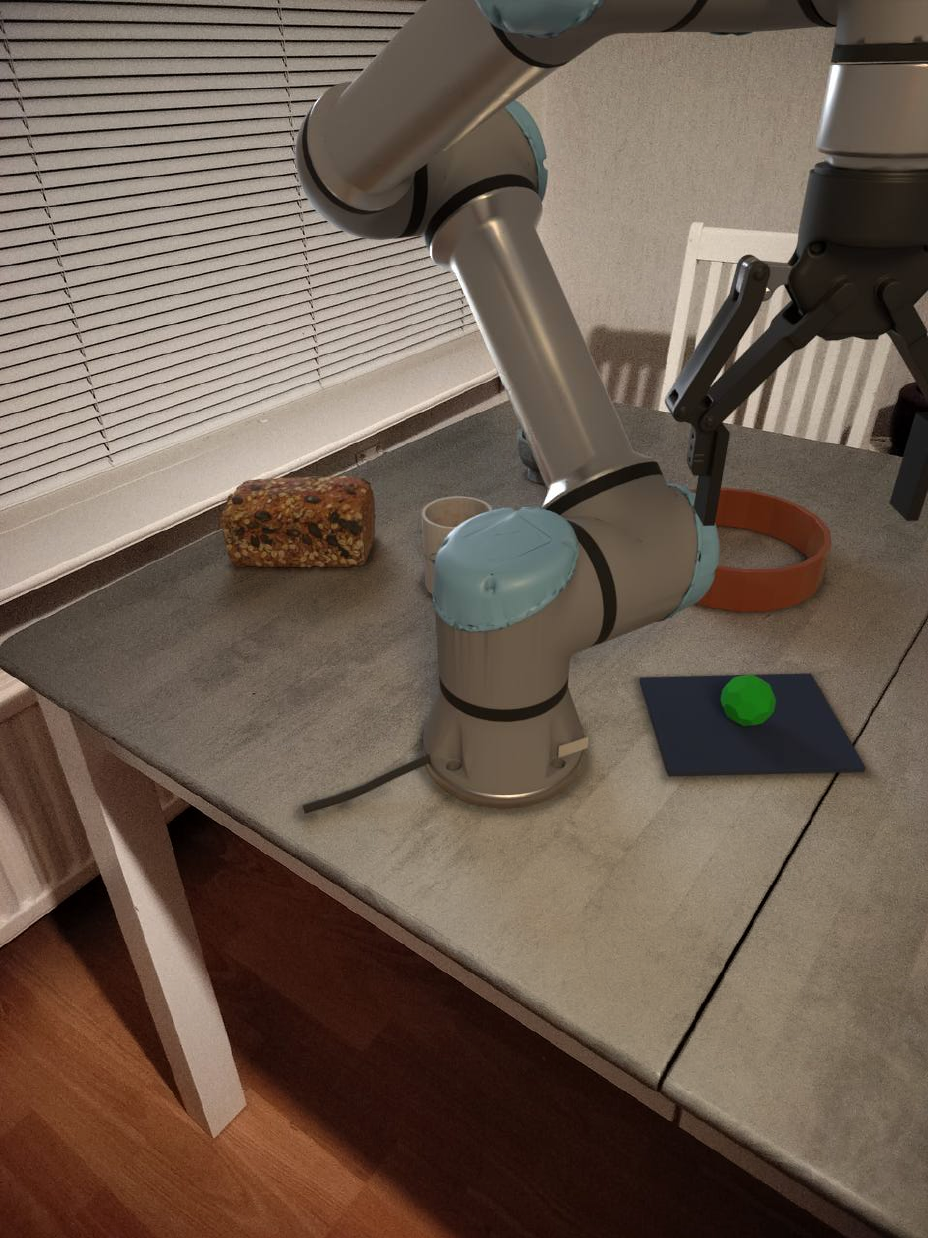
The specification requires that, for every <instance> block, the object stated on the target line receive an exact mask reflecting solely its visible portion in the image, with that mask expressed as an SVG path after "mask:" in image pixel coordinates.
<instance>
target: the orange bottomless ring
mask: <svg viewBox="0 0 928 1238" xmlns="http://www.w3.org/2000/svg"><path fill="white" fill-rule="evenodd" d="M690 489H691V488H690ZM696 489H697V488H692V489H691V492H692V493H696ZM715 524H716V526H720V527H729V528H739V529H746V530H749V531H754V532H758V533H761V534H765V535H768V536H771V537H773V538H775V539H777V540H780V541H782V542H784V543H786V544H789V545H790V546H791V547H793V548H794V549H796V550H797V551H798V552H799V553H801V554H803V555H804V556H805V557H806V559H805V560H803V561H801V562H798V563H794V564H789V565H785V566H780V567H769V568H766V567H765V568H741V567H733V566H732V567H731V566H728V565H727V566H726V565H719V564H718V567H717V568H716V569H715V577H714V581H713V583H712V585H711V587H710V589H709V590H708V592H707V593H706V594H705V595H704V597H703V598H702V599H701V600H699V601H698V602H697V603H695V604H697V605H700V606H703V607H706V608H710V609H718V610H725V611H732V612H739V613H751V612H752V613H753V612H754V613H755V612H757V613H758V612H772V611H776V610H777V611H778V610H782V609H786V608H791V607H795V606H797V605H799V604H800V603H803V602H804V601H806V600H807V599H809V598H811V597H813V596H814V595H815V594H816V592H817V591H818V589H819V588H820V586H821V584H822V583H823V579H824V575H825V572H826V568H827V564H828V561H829V557H830V553H831V548H832V545H833V543H832V535H831V530H830V529H829V527H828V526H827V525H826V523H825V522H824V521H823V520H822V519H821V517H820V516H818V515H817V514H816V513H814V512H813V511H811V510H809V509H807V508H806V507H804V506H803V505H800V504H798V503H797V502H793V501H791V500H789V499H786V498H783V497H782V496H781V497H780V496H777V495H773V494H770V493H766V492H765V493H764V492H762V491H757V490H752V489H742V488H735V487H734V488H733V487H721V490H720V496H719V502H718V508H717V514H716V520H715Z"/></svg>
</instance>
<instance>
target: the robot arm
mask: <svg viewBox="0 0 928 1238" xmlns="http://www.w3.org/2000/svg"><path fill="white" fill-rule="evenodd" d="M820 27H821V28H822V27H823V28H828V29H829V28H835V32H834V33H835V34H834V39H833V49H832V53H831V59H830V63H831V64H830V65H829V70H828V75H827V79H826V85H825V92H824V96H823V101H822V105H821V106H822V108H821V110H820V111H821V112H820V117H819V122H818V126H817V127H818V128H817V133H816V139H815V144H814V147H815V148H816V150H817V151H818V152H819V153H820V154H824V157H823V161H820V162H817V163H816V164H814V166H813V168H811V169H810V170H809V174H808V179H807V184H806V189H805V193H804V200H803V205H802V210H801V216H800V220H799V221H800V222H799V227H798V234H797V240H796V241H797V242H796V246H795V249H794V252H793V253H792V255H791V257H790V258H789V260H788V261H787V262H779V261H771V260H761V259H760V258H758V257H756V256H755V255H753V254H751V253H750V254H745V255H743V256H742V257H740V258H739V260H738V261H737V263H736V267H735V271H734V275H733V278H732V282H731V286H730V289H729V292H728V293H729V294H728V295H727V297H726V299H725V300H724V302H723V303H722V305H721V306H720V309H719V310H718V311H717V313H716V315H715V316H714V318H713V320H712V321H711V323H710V324H709V326H708V328H707V329H706V331H705V332H704V334H703V335H702V337H701V339H700V341H699V342H698V344H697V345H696V347H695V349H694V351H693V352H692V354H691V355H690V357H689V359H688V360H687V361H686V363H685V365H684V366H683V368H682V370H681V371H680V373H679V374H678V376H677V377H676V379H675V381H674V382H673V384H672V386H671V388H670V389H669V391H668V392H667V394H666V395H665V398H664V404H665V406H666V408H667V410H668V411H669V413H670V415H671V417H673V420H674V421H676V422H677V423H687V424H690V432H689V439H688V447H687V455H686V463H687V467H688V469H689V471H690V472H691V474H692V476H693V477H697V481H696V482H697V483H696V488H695V489H696V493H692V492H691V488H689V486H686V485H682V484H677V483H676V484H675V483H672V482H671V483H670V482H669V483H668V482H667V480H666V477H665V475H664V474H663V471H662V469H661V467H660V465H659V463H658V460H657V459H656V458H653V457H651V456H648V455H645V454H642V453H639V452H637V451H636V450H634V449H633V446H632V444H631V442H630V439H629V437H628V434H627V433H626V431H625V428H624V426H623V423H622V421H621V419H620V417H619V415H618V412H617V409H616V407H615V405H614V403H613V401H612V399H611V397H610V394H609V392H608V389H607V387H606V385H605V383H604V380H603V378H602V375H601V374H600V372H599V369H598V367H597V365H596V362H595V360H594V358H593V355H592V354H591V352H590V349H589V346H588V344H587V342H586V339H585V338H584V336H583V332H582V331H581V329H580V327H579V323H578V322H577V320H576V317H575V315H574V313H573V311H572V307H571V306H570V303H569V302H568V299H567V296H566V295H565V292H564V291H563V288H562V286H561V283H560V282H559V279H558V276H557V274H556V272H555V270H554V268H553V265H552V263H551V260H550V259H549V255H548V254H547V252H546V250H545V247H544V245H543V243H542V240H541V238H540V236H539V234H538V232H537V228H538V226H539V224H540V221H541V219H542V217H543V216H542V215H543V211H544V208H543V207H544V206H543V201H544V199H545V196H546V191H547V186H548V176H549V170H548V169H547V168H546V167H545V165H544V161H545V160H546V159H547V157H548V156H547V151H546V147H545V141H544V139H543V136H542V134H541V131H540V128H539V125H537V122H536V121H535V119H534V117H533V116H532V115H531V113H530V112H529V110H528V109H526V107H525V106H524V105H523V104H521V102H519V101H517V99H519V98H520V97H521V96H522V95H524V94H526V92H529V90H530V89H532V88H533V87H535V86H536V85H537V84H539V83H540V82H542V81H543V80H544V79H546V78H547V77H549V76H550V75H551V74H553V73H555V72H556V71H557V70H558V69H560V68H561V67H564V66H565V65H567V64H568V63H570V62H571V61H573V60H574V59H576V58H577V57H579V56H580V55H582V54H583V53H584V52H586V51H587V50H588V49H590V48H591V47H592V46H594V45H595V44H597V43H598V42H599V41H601V40H603V39H605V38H607V37H611V36H615V35H619V34H660V33H665V34H666V33H705V34H707V33H708V34H710V35H715V36H729V35H734V36H736V37H741V36H746V35H750V34H752V33H759V32H777V31H788V30H799V29H809V28H810V29H811V28H820ZM833 63H834V64H833ZM294 161H295V162H294V163H295V169H296V173H297V178H298V181H299V184H300V186H301V189H302V191H303V194H304V196H305V198H306V199H307V201H308V202H309V203H310V205H311V206H312V208H313V209H314V210H315V211H316V212H317V213H318V215H320V217H322V218H323V219H324V220H325V221H326V222H327V223H329V224H330V225H332V226H333V227H334V228H336V229H338V230H340V231H342V232H344V233H346V234H348V235H351V236H353V237H357V238H361V239H367V240H373V241H385V240H397V239H398V240H399V239H404V238H405V239H406V238H413V237H415V238H416V237H421V238H422V239H423V241H424V243H425V246H426V247H427V250H428V252H429V255H430V257H431V260H432V261H433V263H434V264H435V266H436V267H438V268H439V269H442V270H443V271H446V272H449V273H454V274H455V275H456V278H457V281H458V283H459V286H460V287H461V289H462V292H463V294H464V297H465V299H466V301H467V304H468V306H469V309H470V311H471V314H472V315H473V318H474V321H475V322H476V325H477V327H478V329H479V332H480V334H481V337H482V339H483V342H484V343H485V346H486V349H487V351H488V353H489V356H490V358H491V360H492V363H493V364H494V367H495V369H496V372H497V374H498V376H499V379H500V381H501V384H502V386H503V389H504V391H505V393H506V395H507V398H508V400H509V402H510V405H511V407H512V410H513V411H514V414H515V416H516V419H517V421H518V424H519V426H520V429H522V430H523V433H524V435H525V437H526V440H527V442H528V444H529V447H530V449H531V452H532V454H533V456H534V459H535V461H536V463H537V466H538V468H539V470H540V473H541V475H542V477H543V480H544V482H545V484H544V485H545V487H546V489H547V493H546V496H545V498H544V501H543V503H542V506H541V507H533V506H523V507H521V508H520V509H513V508H512V507H511V506H507V507H500V508H496V509H493V510H491V511H488V512H485V513H482V514H479V515H477V516H474V517H472V518H470V519H468V520H466V521H465V522H463V523H461V524H460V525H459V526H457V527H456V528H455V529H453V530H452V531H451V532H450V533H449V535H448V536H447V537H446V538H445V539H444V541H443V542H442V544H441V546H440V549H439V551H438V553H437V555H436V560H435V574H434V585H433V593H432V594H431V596H432V605H433V607H434V615H435V630H436V632H435V633H436V649H437V664H438V665H437V666H438V678H439V679H438V682H439V686H438V689H437V691H436V694H435V697H434V699H433V702H432V705H431V707H430V711H429V714H428V716H427V719H426V722H425V725H424V729H423V733H422V748H423V756H421V757H419V758H417V759H414V760H412V761H410V762H408V763H405V764H404V765H402V766H399V767H397V768H395V769H392V770H391V771H388V772H386V773H384V774H381V775H380V776H378V777H376V778H374V779H372V780H371V781H368V782H366V783H364V784H362V785H359V786H357V787H354V788H352V789H349V790H348V791H344V792H342V793H338V794H336V795H332V796H330V797H329V796H328V797H326V798H322V799H319V800H314V801H312V802H309V803H305V804H302V809H303V812H304V814H308V813H312V812H315V811H318V810H321V809H322V810H323V809H326V808H328V807H331V806H335V805H339V804H341V803H344V802H347V801H351V800H352V799H355V798H358V797H360V796H362V795H365V794H367V793H369V792H371V791H373V790H375V789H377V788H379V787H381V786H382V785H384V784H386V783H389V782H391V781H393V780H395V779H397V778H400V777H403V776H404V775H406V774H408V773H410V772H412V771H414V770H417V769H418V768H422V767H424V766H425V767H426V769H427V771H428V773H429V774H430V776H431V777H432V779H433V780H434V782H436V783H437V784H438V785H439V786H440V787H441V788H442V789H443V790H445V791H446V792H447V793H449V794H451V795H452V796H454V797H455V798H457V799H459V800H462V801H464V802H467V803H470V804H473V805H477V806H481V807H487V808H494V809H517V808H524V807H529V806H532V805H536V804H540V803H543V802H544V801H545V802H546V801H547V800H549V799H551V798H553V797H555V796H557V795H559V794H560V793H562V792H563V791H564V790H566V789H567V788H568V787H569V786H570V785H571V784H572V783H573V781H574V780H575V779H576V778H577V776H578V774H579V772H580V771H581V768H582V765H583V762H584V761H583V760H584V752H585V750H586V749H588V748H589V740H590V739H589V738H590V736H586V737H585V735H584V730H583V727H582V723H581V720H580V717H579V714H578V712H577V708H576V706H575V703H574V700H573V698H572V695H571V692H570V689H569V678H570V677H569V676H570V664H571V658H572V657H573V656H574V655H575V654H577V653H580V652H582V651H586V650H587V649H590V648H592V647H595V646H596V645H600V644H603V643H605V642H608V641H610V640H614V639H616V638H618V637H621V636H623V635H627V634H629V633H631V632H634V631H636V630H639V629H642V628H645V627H647V626H649V625H652V624H654V623H661V622H664V621H666V620H668V619H670V618H673V617H674V616H675V615H677V614H678V613H679V612H681V611H685V610H686V609H688V608H690V607H692V606H694V605H695V604H696V603H697V602H698V601H699V600H701V599H702V598H703V597H704V595H705V594H706V593H707V592H708V590H709V589H710V587H711V585H712V583H713V581H714V577H715V569H716V568H717V567H718V565H719V562H720V538H719V531H718V528H717V525H716V524H715V520H716V514H717V508H718V502H719V496H720V490H721V488H722V483H723V478H724V472H725V466H726V460H727V455H728V447H729V441H730V436H731V432H730V430H728V429H727V427H726V425H725V424H724V421H726V420H727V419H728V418H729V417H730V416H731V415H732V414H733V413H734V412H735V410H737V409H738V408H739V407H740V406H741V405H742V404H743V403H744V402H745V401H746V400H747V399H748V398H749V397H750V396H751V395H752V394H753V393H754V392H755V391H756V390H757V389H758V388H759V387H760V386H761V385H763V383H765V381H766V380H767V379H768V378H769V377H770V376H771V375H772V374H773V373H774V372H775V371H776V370H778V369H779V368H780V366H782V365H783V364H784V363H785V362H786V361H787V360H788V359H789V358H790V357H791V356H792V355H793V354H794V353H795V352H797V351H799V350H803V349H804V348H805V347H806V346H807V345H809V344H810V343H811V341H813V340H814V339H815V338H816V337H818V338H821V339H822V340H824V341H825V342H838V341H842V340H845V339H850V338H856V339H860V340H865V341H871V340H872V341H874V340H876V341H877V340H879V337H880V336H883V335H885V334H886V335H887V336H888V337H889V339H890V341H891V342H892V344H893V346H894V347H895V349H896V350H897V352H898V354H899V355H900V358H901V359H902V361H903V363H904V364H905V366H906V367H907V370H908V371H909V373H910V375H911V377H912V378H913V380H914V382H915V384H916V385H917V387H918V388H919V390H920V392H921V393H922V395H923V397H924V398H925V401H926V402H927V403H928V330H927V327H926V325H925V324H924V322H923V320H922V318H921V315H920V314H919V313H918V311H917V309H916V307H915V305H916V304H917V303H918V302H919V301H920V300H921V298H923V297H924V296H925V295H926V294H927V292H928V0H426V1H425V2H423V3H422V4H421V6H420V7H419V8H418V9H417V10H416V11H415V12H414V14H413V15H412V16H410V18H409V19H408V20H407V21H406V23H405V24H404V25H402V27H401V28H400V29H399V30H398V31H397V32H396V33H395V35H394V36H393V37H392V38H390V40H389V41H388V42H387V43H386V44H385V46H384V47H383V48H381V50H380V51H379V52H378V54H376V56H375V57H373V59H372V60H371V61H370V62H369V63H368V64H367V65H366V67H365V68H364V69H363V70H362V71H361V72H360V73H359V75H358V76H356V78H355V79H354V80H353V81H345V82H344V81H343V82H340V83H337V84H335V85H333V86H331V87H329V88H328V89H327V90H326V91H324V92H323V93H322V94H321V95H320V97H319V98H318V99H317V100H316V101H315V102H314V104H313V105H312V106H311V108H310V109H309V110H308V111H307V113H306V114H305V116H304V117H303V119H302V122H301V124H300V126H299V130H298V133H297V136H296V140H295V150H294ZM781 286H784V288H785V290H786V292H787V294H788V296H789V298H790V300H789V302H788V303H786V305H785V306H783V308H782V309H781V310H780V311H779V312H778V313H776V315H775V316H774V317H773V318H772V319H771V321H770V324H769V326H768V327H767V329H766V330H765V331H764V332H763V333H761V334H760V336H759V337H758V338H757V339H756V340H755V341H754V342H753V343H752V344H751V345H750V346H749V347H748V348H747V349H746V350H745V351H744V352H743V353H742V354H741V355H740V356H739V357H738V358H737V359H736V360H735V361H734V362H733V363H732V364H731V365H730V366H729V367H728V368H727V370H725V371H724V372H723V373H722V374H721V375H720V373H721V371H722V370H723V368H724V366H726V363H727V362H728V360H729V359H730V358H731V356H732V355H733V352H734V351H735V350H736V348H737V346H738V345H739V343H740V342H741V340H742V339H743V337H744V335H745V334H746V332H747V331H748V330H749V328H750V326H751V325H752V323H753V322H754V320H755V318H756V317H757V315H758V313H759V311H760V308H761V306H762V304H763V303H764V302H767V301H769V300H770V299H772V297H773V295H774V294H775V292H776V290H777V289H778V288H779V287H781ZM719 375H720V377H719V378H717V377H718V376H719ZM715 380H716V381H715ZM891 492H892V493H891V496H890V499H889V503H888V504H890V506H892V507H893V508H894V510H895V511H896V512H897V513H898V514H899V515H900V516H902V518H904V520H905V521H906V522H918V521H919V520H920V517H921V514H922V510H923V507H924V504H925V501H926V498H927V495H928V412H927V411H923V412H915V414H914V418H913V421H912V425H911V429H910V431H909V435H908V438H907V442H906V445H905V448H904V452H903V455H902V458H901V461H900V466H899V469H898V472H897V475H896V479H895V482H894V485H893V489H892V491H891Z"/></svg>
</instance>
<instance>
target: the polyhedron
mask: <svg viewBox="0 0 928 1238" xmlns="http://www.w3.org/2000/svg"><path fill="white" fill-rule="evenodd" d="M743 675H744V676H739V677H734V678H733V679H732V680H731V681H730V682H729V683H728V684H727V685H726V686H725V687H724V689H723V690H722V695H721V703H722V706H723V708H724V710H725V713H726V715H727V717H729V718H730V719H732V720H733V721H735V722H737V723H738V724H740V725H742V726H752V725H757V724H762V723H763V722H765V721H766V720H767V719H768V718H769V717H770V716H771V714H772V713H773V712H774V709H775V704H776V699H775V696H774V694H773V692H772V689H771V687H770V685H769V684H768V683H767V682H765V681H763V680H762V679H760V678H758V677H756V676H755V675H756V674H743Z"/></svg>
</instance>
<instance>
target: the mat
mask: <svg viewBox="0 0 928 1238" xmlns="http://www.w3.org/2000/svg"><path fill="white" fill-rule="evenodd" d="M744 675H745V674H730V675H690V676H686V675H685V676H649V677H648V676H647V677H643V676H641V677H640V679H639V683H640V686H641V690H642V693H643V696H644V700H645V703H646V706H647V709H648V713H649V716H650V720H651V723H652V726H653V730H654V733H655V737H656V740H657V743H658V746H659V750H660V753H661V756H662V759H663V762H664V767H665V770H666V772H667V776H668V777H699V776H700V777H703V776H704V777H705V776H707V777H708V776H745V775H746V776H747V775H749V776H750V775H751V776H753V775H784V774H785V775H791V774H796V775H797V774H836V773H839V774H840V773H841V774H842V773H865V771H866V768H867V767H866V765H865V764H864V762H863V760H862V758H861V757H860V755H859V753H858V752H857V750H856V748H855V746H854V744H853V743H852V742H851V739H850V738H849V736H848V735H847V733H846V731H845V729H844V728H843V726H842V723H840V721H839V719H838V717H837V715H836V714H835V712H834V710H833V708H832V707H831V705H830V704H829V702H828V700H827V698H826V697H825V695H824V693H823V692H822V691H823V690H822V689H821V688H820V686H819V684H818V683H817V681H816V680H815V678H814V676H813V674H812V673H811V672H810V673H773V674H771V673H769V674H754V675H755V676H756V677H758V678H760V679H762V680H763V681H765V682H767V683H768V684H769V685H770V687H771V689H772V692H773V694H774V696H775V699H776V704H775V709H774V712H773V713H772V714H771V716H770V717H769V718H768V719H767V720H766V721H765V722H763V723H762V724H757V725H752V726H742V725H740V724H738V723H737V722H735V721H733V720H732V719H730V718H729V717H727V715H726V713H725V710H724V708H723V706H722V703H721V695H722V690H723V689H724V687H725V686H726V685H727V684H728V683H729V682H730V681H731V680H732V679H733V678H734V677H739V676H744Z"/></svg>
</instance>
